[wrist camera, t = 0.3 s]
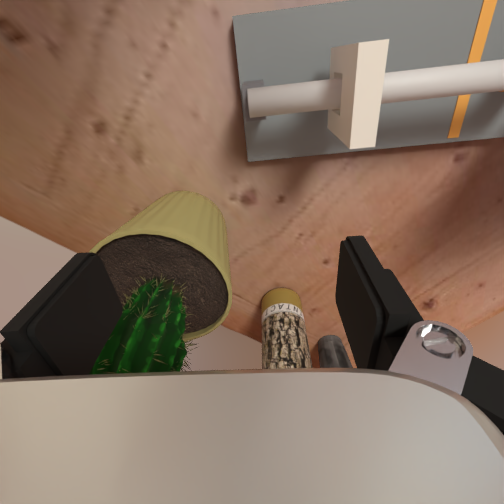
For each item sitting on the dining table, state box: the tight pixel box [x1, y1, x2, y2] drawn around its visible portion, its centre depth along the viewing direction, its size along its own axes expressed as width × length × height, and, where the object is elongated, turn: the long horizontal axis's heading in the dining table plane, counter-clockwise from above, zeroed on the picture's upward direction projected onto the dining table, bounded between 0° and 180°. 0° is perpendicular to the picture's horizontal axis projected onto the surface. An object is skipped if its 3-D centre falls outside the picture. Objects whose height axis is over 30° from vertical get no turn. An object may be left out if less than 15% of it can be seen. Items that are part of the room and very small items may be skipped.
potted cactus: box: [89, 191, 232, 375], centre depth 30 cm, size 15×15×30 cm
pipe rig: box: [233, 0, 504, 162], centre depth 28 cm, size 14×30×9 cm, turn 96°
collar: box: [327, 39, 389, 149], centre depth 25 cm, size 7×2×9 cm, turn 6°
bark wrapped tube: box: [262, 288, 312, 369], centre depth 40 cm, size 7×7×25 cm
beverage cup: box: [318, 335, 353, 368], centre depth 48 cm, size 7×7×20 cm
